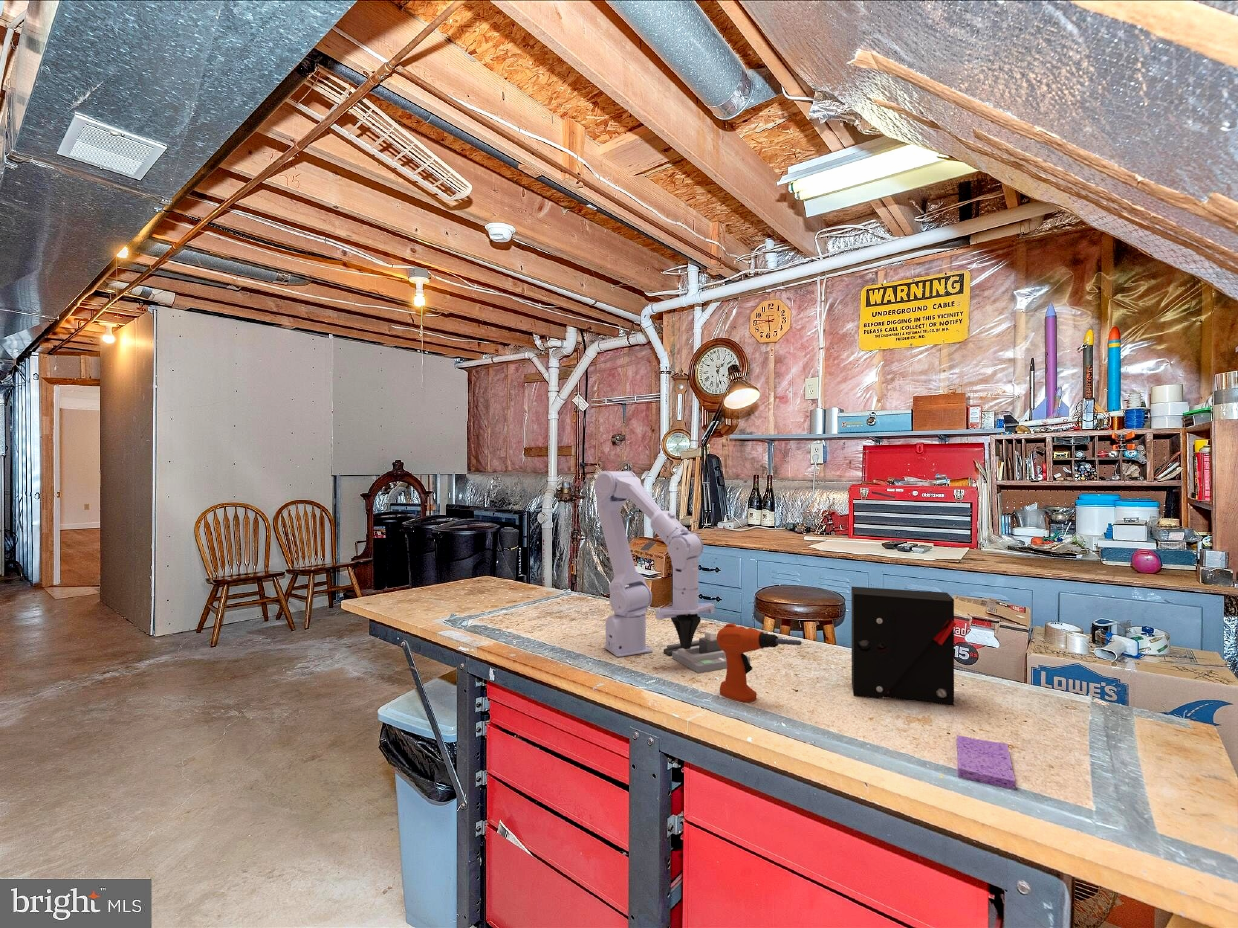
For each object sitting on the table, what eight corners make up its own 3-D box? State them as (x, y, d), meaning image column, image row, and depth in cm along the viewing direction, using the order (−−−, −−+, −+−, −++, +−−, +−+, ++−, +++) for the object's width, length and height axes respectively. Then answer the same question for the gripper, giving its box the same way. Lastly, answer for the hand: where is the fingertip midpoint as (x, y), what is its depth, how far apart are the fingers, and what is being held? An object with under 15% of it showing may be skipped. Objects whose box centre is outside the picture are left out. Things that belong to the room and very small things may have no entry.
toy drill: (804, 712, 102) (794, 629, 103) (715, 698, 113) (707, 624, 114) (814, 704, 105) (804, 624, 106) (727, 691, 117) (719, 620, 118)
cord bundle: (669, 656, 136) (669, 646, 136) (663, 652, 138) (663, 643, 138) (718, 648, 142) (718, 639, 142) (712, 645, 144) (712, 636, 144)
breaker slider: (707, 657, 130) (707, 635, 131) (699, 652, 134) (699, 631, 134) (722, 654, 132) (722, 633, 132) (713, 650, 135) (713, 629, 135)
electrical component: (945, 689, 116) (944, 590, 116) (956, 709, 106) (956, 601, 106) (851, 679, 122) (850, 584, 122) (853, 697, 112) (853, 594, 112)
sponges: (957, 780, 83) (957, 767, 83) (956, 743, 94) (956, 732, 94) (1016, 793, 80) (1016, 780, 80) (1007, 754, 91) (1007, 742, 91)
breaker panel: (698, 673, 125) (698, 660, 125) (672, 657, 135) (672, 646, 135) (750, 663, 131) (750, 651, 131) (721, 649, 141) (721, 638, 141)
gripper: (666, 594, 123) (666, 657, 123) (722, 587, 130) (722, 648, 129) (650, 587, 130) (650, 648, 130) (704, 582, 136) (704, 639, 136)
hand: (685, 647), depth 130 cm, fingers closed
